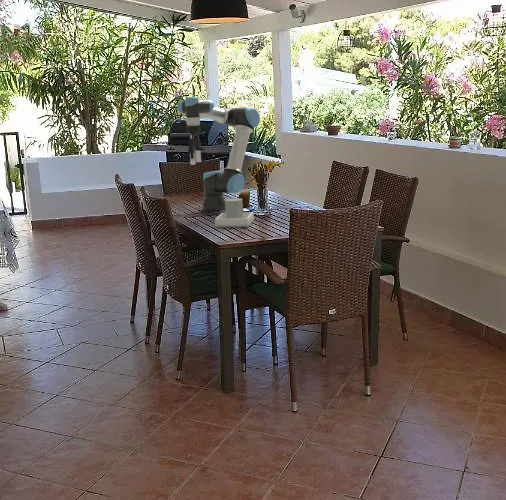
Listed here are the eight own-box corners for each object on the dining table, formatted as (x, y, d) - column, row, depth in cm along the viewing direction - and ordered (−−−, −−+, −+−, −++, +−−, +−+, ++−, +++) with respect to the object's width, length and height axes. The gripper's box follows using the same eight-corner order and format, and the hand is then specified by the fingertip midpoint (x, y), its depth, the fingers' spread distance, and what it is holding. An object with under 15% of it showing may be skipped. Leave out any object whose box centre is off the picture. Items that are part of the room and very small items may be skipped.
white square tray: (222, 220, 396) (221, 212, 395) (253, 220, 393) (253, 212, 392) (215, 227, 378) (215, 218, 377) (248, 226, 375) (248, 218, 374)
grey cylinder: (228, 224, 380) (227, 201, 377) (224, 221, 389) (223, 199, 386) (245, 222, 382) (244, 200, 379) (241, 219, 391) (239, 197, 388)
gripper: (192, 124, 407) (194, 161, 412) (181, 126, 383) (183, 165, 388) (204, 123, 406) (207, 160, 411) (194, 126, 382) (197, 165, 387)
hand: (195, 163), depth 399 cm, fingers open, 13 cm apart
